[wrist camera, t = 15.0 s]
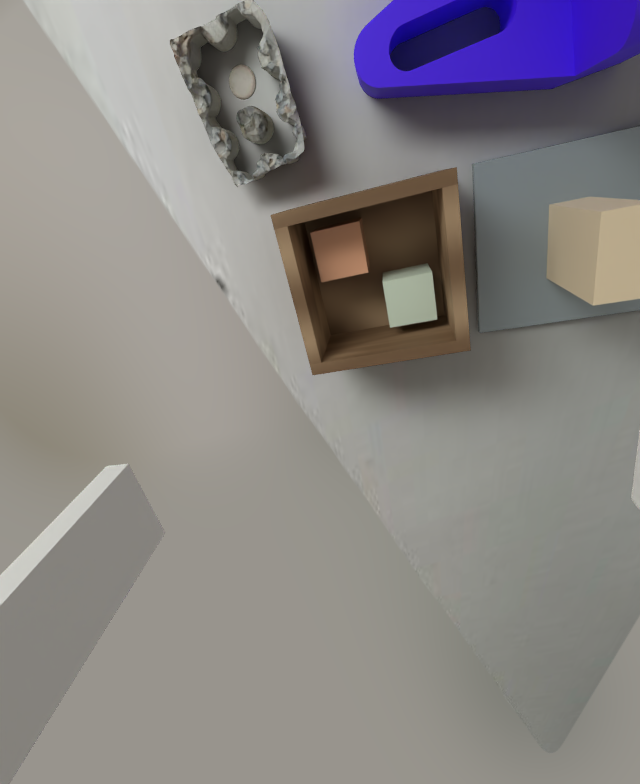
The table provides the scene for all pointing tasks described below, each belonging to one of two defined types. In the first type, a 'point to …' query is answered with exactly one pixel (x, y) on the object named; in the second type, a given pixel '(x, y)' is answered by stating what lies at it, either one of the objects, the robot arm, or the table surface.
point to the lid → (558, 232)
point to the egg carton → (239, 89)
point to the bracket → (499, 46)
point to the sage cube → (409, 295)
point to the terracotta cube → (341, 250)
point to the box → (379, 274)
